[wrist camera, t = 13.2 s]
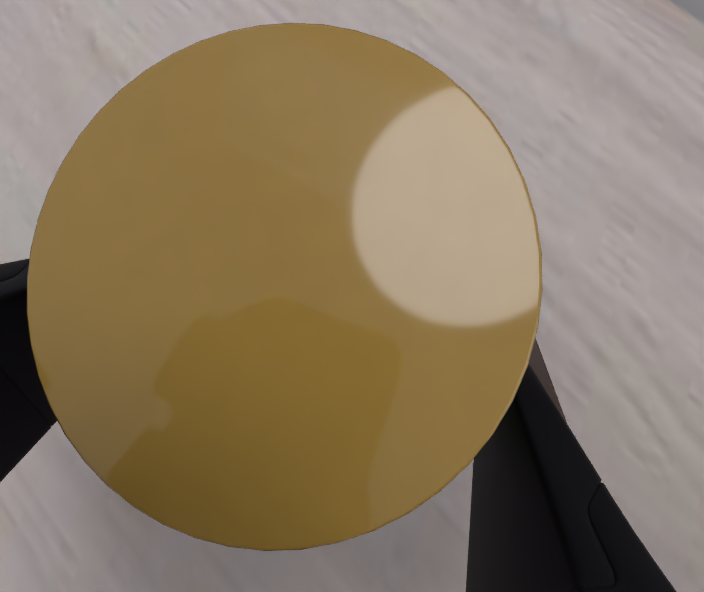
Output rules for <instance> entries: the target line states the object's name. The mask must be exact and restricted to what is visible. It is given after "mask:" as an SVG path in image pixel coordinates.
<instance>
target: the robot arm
mask: <svg viewBox="0 0 704 592" xmlns="http://www.w3.org/2000/svg"><path fill="white" fill-rule="evenodd" d="M28 268H29V259H25V260H20V261H15V262H10V263H5V264H0V482H1V481H2V480H3V479H4V478H5V476H6V475H7V474H8V473H9V472H10V471H11V470H12V469H13V468H14V467H15V466H16V465H17V464H18V462H19V461H20V460H21V459H22V458H23V457H24V456H25V455H26V454H27V453H28V452H29V451H30V450H31V449H32V447H33V446H34V445H35V444H36V443H37V442H38V441H39V440H40V439H41V438H42V437H43V436H44V435H45V433H46V432H47V431H48V430H49V429H50V428H51V426H52V425H54V423H55V422H56V421H57V419H56V417H55V415H54V413H53V411H52V409H51V408H50V405H49V403H48V400H47V398H46V395H45V392H44V390H43V387H42V384H41V382H40V379H39V377H38V373H37V369H36V365H35V361H34V357H33V352H32V348H31V344H30V335H29V327H28V318H27V276H28ZM600 482H601V478H600V477H599V475H598V473H597V472H596V470H595V469H594V467H593V465H592V464H591V462H590V461H589V459H588V457H587V456H586V454H585V452H584V451H583V449H582V448H581V446H580V444H579V443H578V441H577V439H576V438H575V436H574V435H573V433H572V431H571V430H570V428H569V426H568V425H567V423H566V422H565V420H564V418H563V417H562V415H561V413H560V412H559V410H558V409H557V407H556V405H555V404H554V402H553V400H552V399H551V397H550V396H549V394H548V392H547V391H546V389H545V388H544V386H543V384H542V383H541V381H540V379H539V378H538V376H537V375H536V373H535V371H534V370H533V368H532V366H531V365H530V363H528V366H527V369H526V371H525V374H524V376H523V378H522V381H521V383H520V385H519V388H518V390H517V392H516V395H515V397H514V400H513V402H512V403H511V405H510V407H509V408H508V410H507V412H506V413H505V415H504V417H503V418H502V420H501V422H500V423H499V425H498V427H497V428H496V430H495V432H494V433H493V435H492V436H491V437H490V439H489V440H488V441H487V442H486V444H485V445H484V446H483V447H482V449H481V450H480V451H479V452H478V454H477V455H476V456H475V457H474V463H473V480H472V496H471V513H470V530H469V547H468V564H467V581H466V592H676V590H675V589H674V588H673V586H672V585H671V583H670V582H669V581H668V579H667V578H666V576H665V575H664V574H663V572H662V571H661V569H660V568H659V567H658V565H657V564H656V562H655V561H654V559H653V558H652V557H651V555H650V554H649V552H648V551H647V549H646V548H645V546H644V545H643V543H642V542H641V541H640V539H639V538H638V536H637V535H636V533H635V532H634V530H633V529H632V527H631V526H630V524H629V523H628V521H627V520H626V518H625V516H624V515H623V513H622V512H621V510H620V509H619V507H618V506H617V504H616V502H615V501H614V499H613V498H612V496H611V494H610V493H609V491H608V489H607V488H606V486H605V485H604V483H600Z"/></svg>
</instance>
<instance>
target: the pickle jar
mask: <svg viewBox="0 0 704 592" xmlns="http://www.w3.org/2000/svg"><path fill="white" fill-rule="evenodd" d="M541 298H542V252H541V246H540V239H539V233H538V227H537V221H536V215H535V212H534V209H533V205H532V202H531V199H530V196H529V192H528V189H527V186H526V183H525V180H524V178H523V176H522V174H521V172H520V169H519V167H518V165H517V163H516V161H515V159H514V157H513V155H512V152H511V150H510V148H509V147H508V145H507V144H506V142H505V141H504V139H503V138H502V136H501V135H500V133H499V132H498V130H497V129H496V127H495V126H494V124H493V122H492V121H491V120H490V118H489V117H488V116H487V115H486V114H485V113H484V112H483V110H482V109H481V108H480V107H479V106H478V105H477V104H476V102H475V101H474V100H473V99H472V98H471V97H470V96H469V94H468V93H466V92H465V91H464V90H463V89H462V88H461V87H460V86H458V85H457V84H456V83H455V82H454V81H453V80H451V79H450V78H449V77H448V76H447V75H446V74H445V73H443V72H442V71H440V70H439V69H437V68H436V67H434V66H433V65H431V64H430V63H428V62H427V61H425V60H424V59H422V58H421V57H419V56H417V55H416V54H414V53H412V52H410V51H408V50H406V49H404V48H401V47H399V46H397V45H395V44H393V43H391V42H389V41H387V40H384V39H381V38H378V37H375V36H372V35H368V34H365V33H362V32H359V31H356V30H351V29H346V28H340V27H335V26H329V25H324V24H305V23H283V24H269V25H259V26H254V27H249V28H244V29H239V30H233V31H229V32H226V33H223V34H220V35H217V36H214V37H211V38H208V39H205V40H201V41H199V42H197V43H195V44H192V45H190V46H188V47H186V48H184V49H182V50H180V51H177V52H175V53H173V54H171V55H170V56H168V57H166V58H165V59H163V60H161V61H160V62H158V63H156V64H155V65H153V66H152V67H150V68H148V69H147V70H145V71H144V72H143V73H141V74H140V75H139V76H137V77H136V78H135V79H134V80H132V81H131V82H130V83H128V84H127V85H126V86H125V87H123V88H122V89H121V90H120V91H119V92H118V93H117V94H116V95H115V96H114V97H113V98H112V99H111V100H110V101H109V102H108V103H107V104H106V105H105V106H104V107H103V108H102V109H100V110H99V112H98V113H97V114H96V115H95V116H94V118H93V119H92V120H91V121H90V123H89V124H88V125H87V126H86V128H85V129H84V130H83V131H82V132H81V134H80V135H79V136H78V138H77V140H76V141H75V143H74V144H73V146H72V147H71V149H70V150H69V152H68V154H67V155H66V157H65V158H64V160H63V161H62V163H61V165H60V167H59V169H58V171H57V173H56V175H55V177H54V180H53V182H52V184H51V186H50V188H49V190H48V192H47V195H46V198H45V201H44V204H43V206H42V209H41V212H40V215H39V217H38V221H37V225H36V229H35V233H34V238H33V242H32V246H31V251H30V259H29V268H28V276H27V318H28V327H29V335H30V344H31V348H32V352H33V357H34V361H35V365H36V369H37V373H38V377H39V379H40V382H41V384H42V387H43V390H44V392H45V395H46V398H47V400H48V403H49V405H50V408H51V409H52V411H53V413H54V415H55V417H56V419H57V421H58V422H59V424H60V426H61V428H62V430H63V432H64V434H65V435H66V437H67V438H68V440H69V441H70V442H71V444H72V445H73V447H74V448H75V449H76V451H77V452H78V453H79V455H80V456H81V458H82V459H83V460H84V462H85V463H86V464H87V465H88V466H89V467H90V468H91V469H92V470H93V471H94V472H95V473H96V475H97V476H98V477H99V478H100V479H101V480H102V481H103V482H104V483H105V484H106V485H107V486H108V487H109V488H110V489H112V490H113V491H114V492H115V493H117V494H118V495H119V496H120V497H122V498H123V499H124V500H125V501H127V502H128V503H129V504H130V505H132V506H133V507H134V508H136V509H138V510H139V511H141V512H143V513H144V514H146V515H148V516H149V517H151V518H153V519H154V520H156V521H158V522H159V523H161V524H163V525H165V526H167V527H170V528H172V529H175V530H177V531H179V532H182V533H184V534H187V535H189V536H191V537H194V538H197V539H201V540H204V541H208V542H212V543H216V544H220V545H224V546H228V547H235V548H244V549H253V550H262V551H274V550H302V549H307V548H313V547H318V546H324V545H329V544H335V543H339V542H342V541H345V540H348V539H351V538H354V537H357V536H360V535H363V534H366V533H369V532H372V531H375V530H377V529H379V528H381V527H383V526H384V525H386V524H388V523H390V522H392V521H394V520H396V519H398V518H400V517H402V516H404V515H406V514H408V513H410V512H411V511H412V510H414V509H415V508H417V507H418V506H420V505H421V504H423V503H424V502H425V501H427V500H428V499H430V498H431V497H433V496H434V495H435V494H437V493H438V492H440V491H441V490H442V489H443V488H444V487H445V486H446V485H447V484H448V483H449V482H450V481H452V480H453V479H454V478H455V477H456V476H457V475H458V474H459V473H460V472H461V471H462V470H463V469H464V468H465V467H467V466H468V465H469V463H470V462H471V461H472V460H473V458H474V457H475V456H476V455H477V454H478V452H479V451H480V450H481V449H482V447H483V446H484V445H485V444H486V442H487V441H488V440H489V439H490V437H491V436H492V435H493V433H494V432H495V430H496V428H497V427H498V425H499V423H500V422H501V420H502V418H503V417H504V415H505V413H506V412H507V410H508V408H509V407H510V405H511V403H512V402H513V400H514V397H515V395H516V392H517V390H518V388H519V385H520V383H521V381H522V378H523V376H524V374H525V371H526V369H527V366H528V363H529V359H530V356H531V352H532V348H533V344H534V341H535V337H536V333H537V329H538V323H539V314H540V306H541Z"/></svg>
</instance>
